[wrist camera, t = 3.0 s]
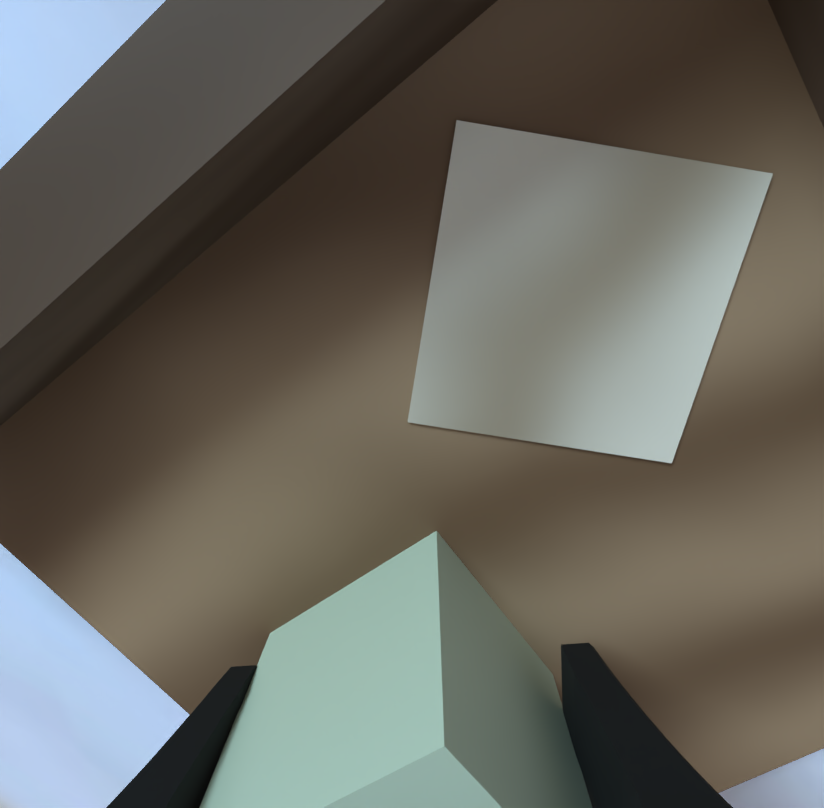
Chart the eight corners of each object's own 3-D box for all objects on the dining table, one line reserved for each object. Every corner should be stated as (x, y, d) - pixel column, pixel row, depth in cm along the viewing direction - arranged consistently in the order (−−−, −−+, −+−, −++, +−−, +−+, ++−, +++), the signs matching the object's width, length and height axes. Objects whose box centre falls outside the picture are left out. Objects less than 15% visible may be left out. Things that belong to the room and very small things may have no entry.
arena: (1068, 592, 12) (1360, 748, 8) (418, 880, 16) (415, 1075, 12) (705, -293, 8) (986, -837, 4) (-78, 416, 12) (-324, 499, 8)
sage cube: (552, 674, 12) (634, 949, 7) (391, 756, 13) (372, 1044, 8) (436, 530, 11) (444, 746, 6) (270, 632, 12) (167, 886, 7)
